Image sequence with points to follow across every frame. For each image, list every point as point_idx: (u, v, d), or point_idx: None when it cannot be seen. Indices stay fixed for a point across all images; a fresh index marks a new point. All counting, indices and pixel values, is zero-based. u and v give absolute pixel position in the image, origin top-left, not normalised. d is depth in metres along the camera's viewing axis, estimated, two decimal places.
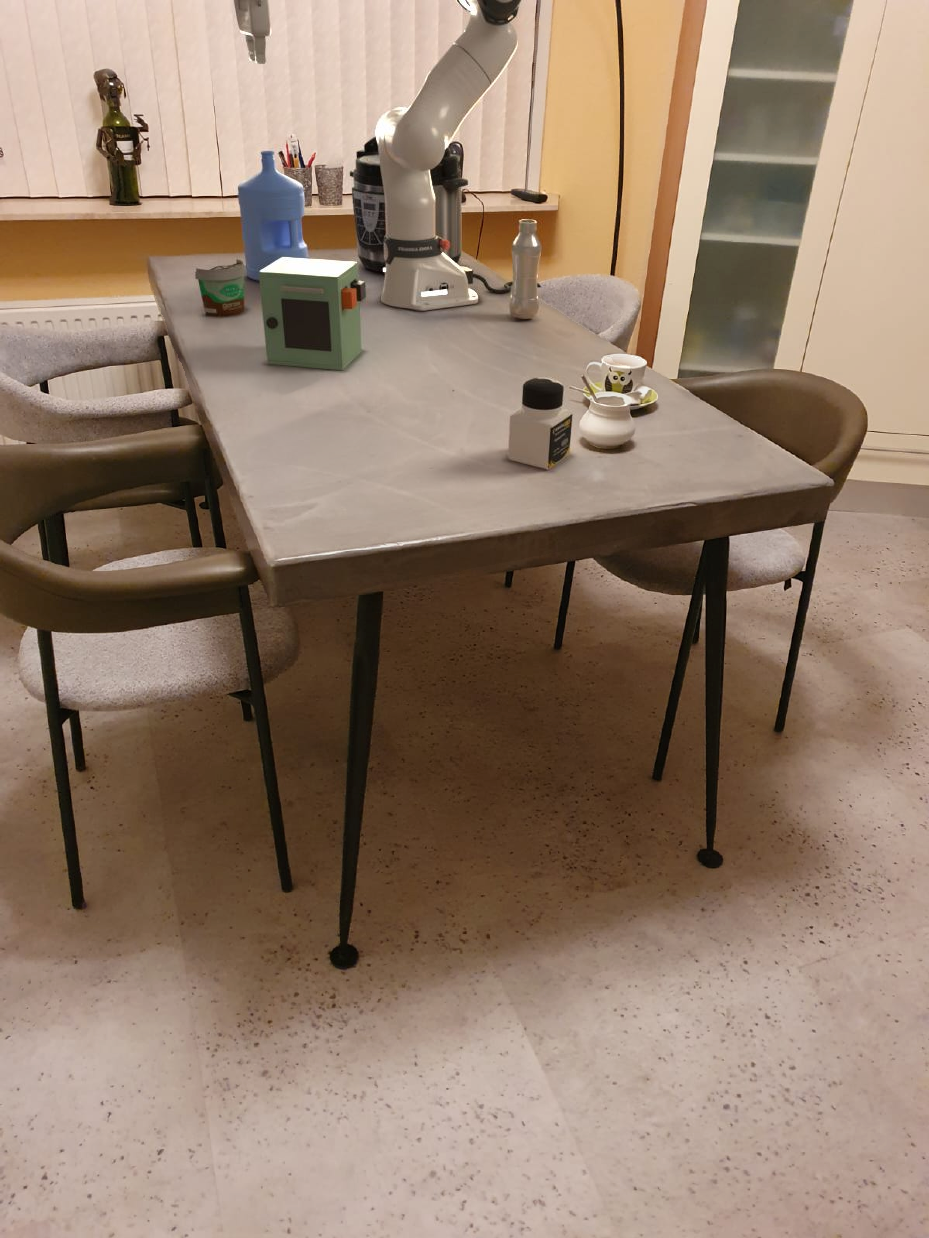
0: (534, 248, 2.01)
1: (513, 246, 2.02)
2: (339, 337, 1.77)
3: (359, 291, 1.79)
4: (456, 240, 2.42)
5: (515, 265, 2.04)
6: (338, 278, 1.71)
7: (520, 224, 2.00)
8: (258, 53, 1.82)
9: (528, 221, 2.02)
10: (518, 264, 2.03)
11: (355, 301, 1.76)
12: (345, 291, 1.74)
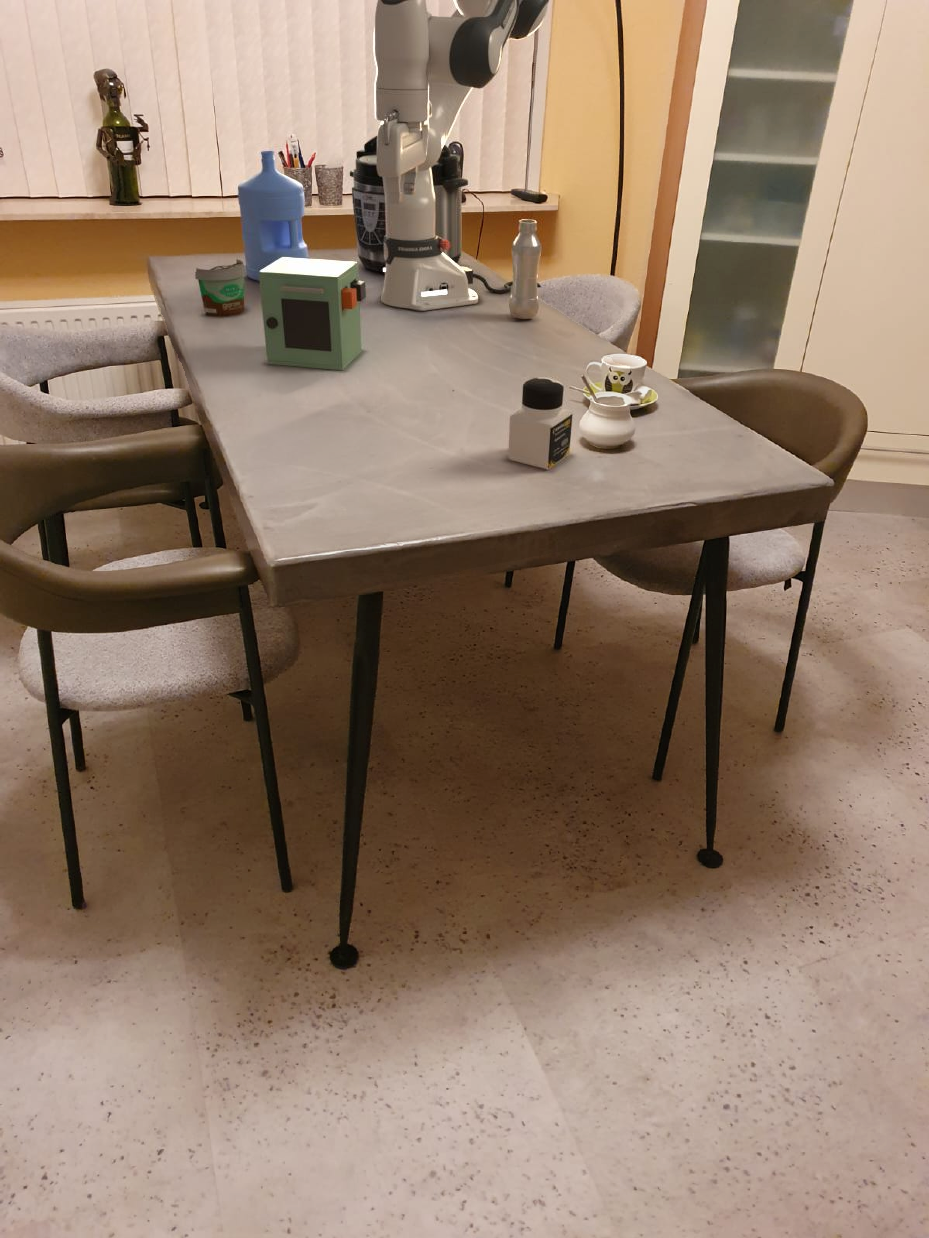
0: (534, 248, 2.01)
1: (513, 246, 2.02)
2: (339, 337, 1.77)
3: (359, 291, 1.79)
4: (456, 240, 2.42)
5: (515, 265, 2.04)
6: (338, 278, 1.71)
7: (520, 224, 2.00)
8: (392, 192, 1.60)
9: (528, 221, 2.02)
10: (519, 264, 2.03)
11: (355, 301, 1.76)
12: (345, 291, 1.74)
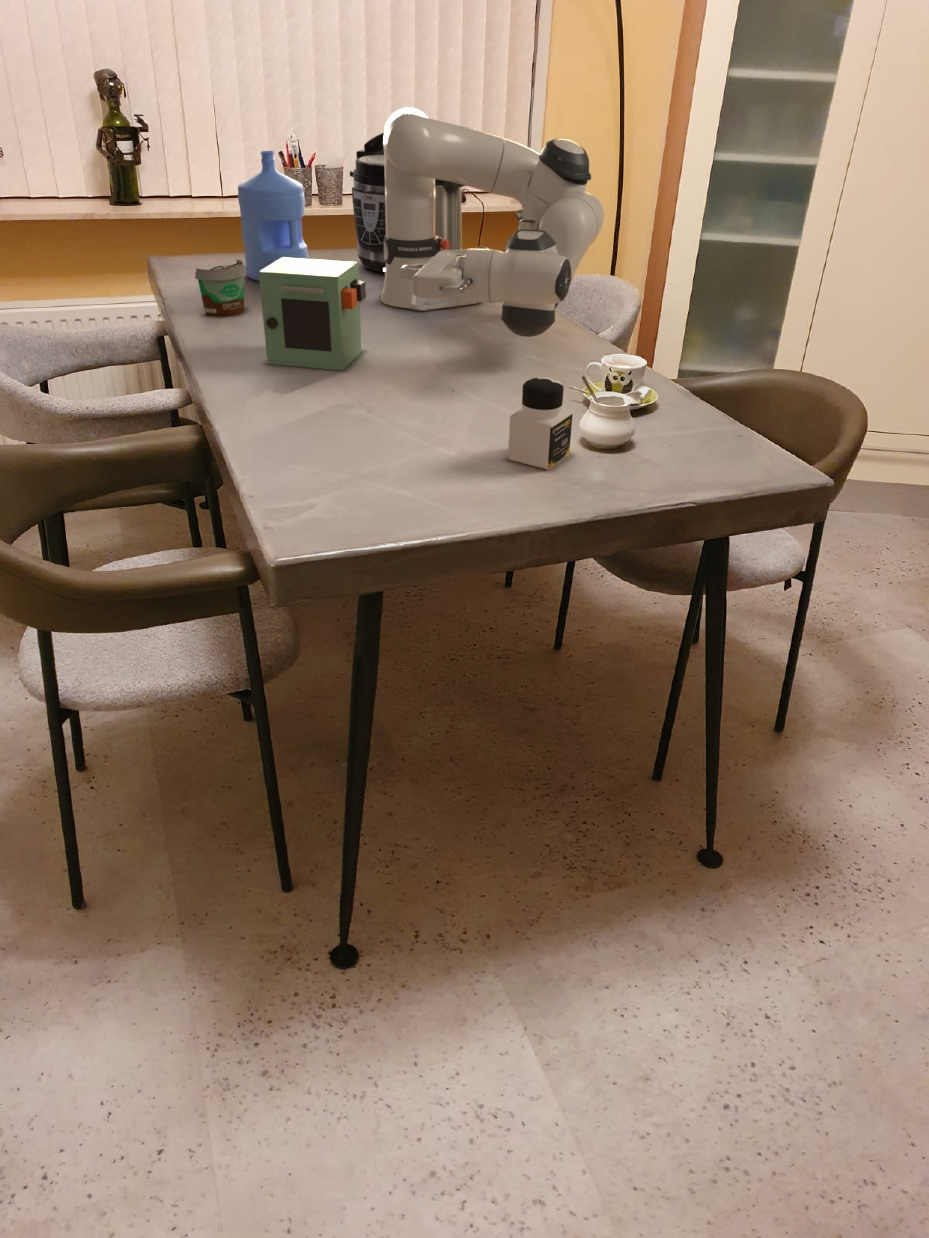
0: None
1: None
2: (339, 337, 1.77)
3: (359, 291, 1.79)
4: (456, 240, 2.42)
5: None
6: (338, 278, 1.71)
7: (520, 224, 2.00)
8: (408, 272, 1.69)
9: (528, 221, 2.02)
10: None
11: (355, 301, 1.76)
12: (345, 291, 1.74)
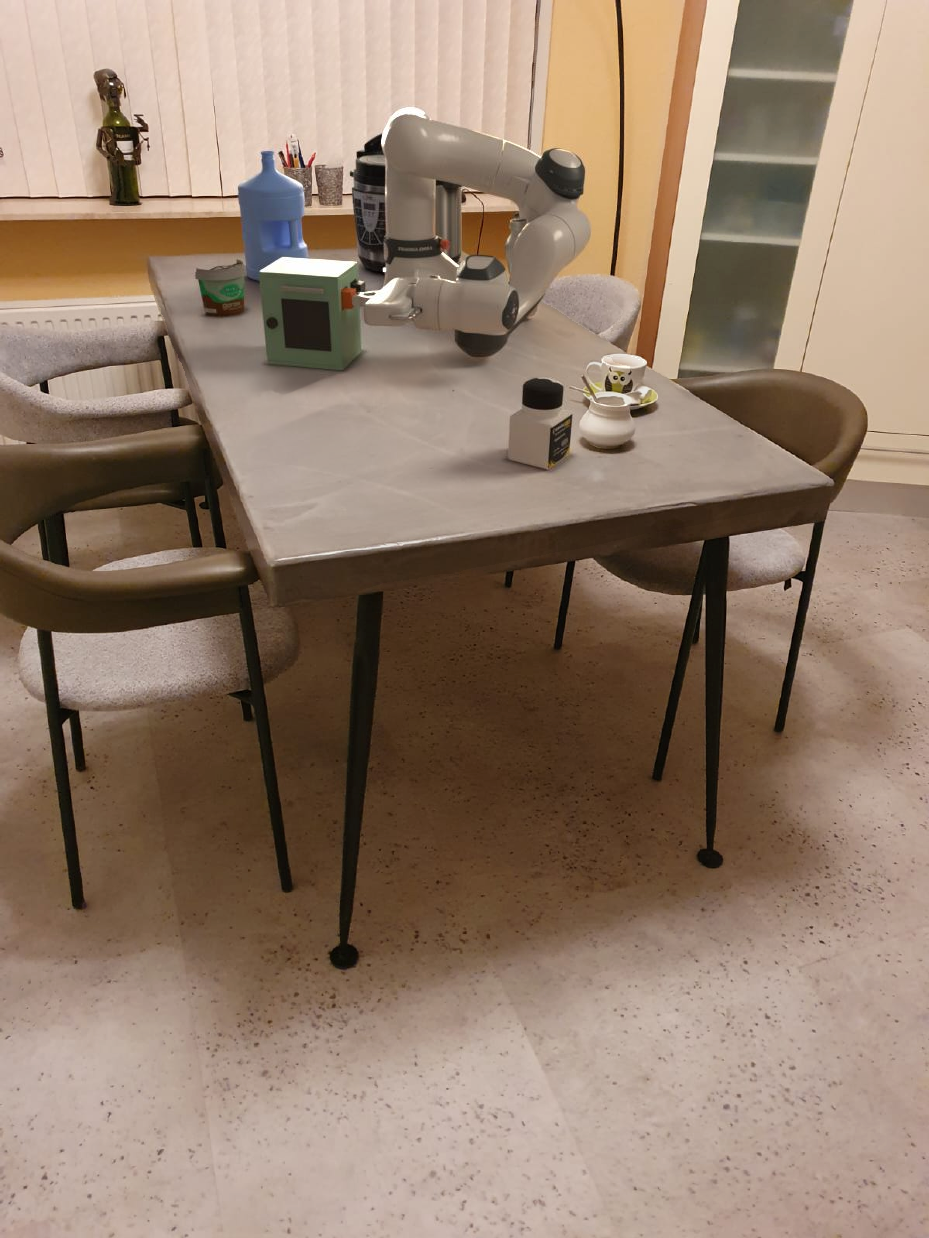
0: None
1: (506, 246, 2.02)
2: (339, 337, 1.77)
3: (359, 291, 1.79)
4: (456, 240, 2.42)
5: (510, 265, 2.04)
6: (338, 278, 1.71)
7: (511, 224, 2.00)
8: (360, 299, 1.74)
9: (519, 220, 2.02)
10: None
11: None
12: (345, 291, 1.74)
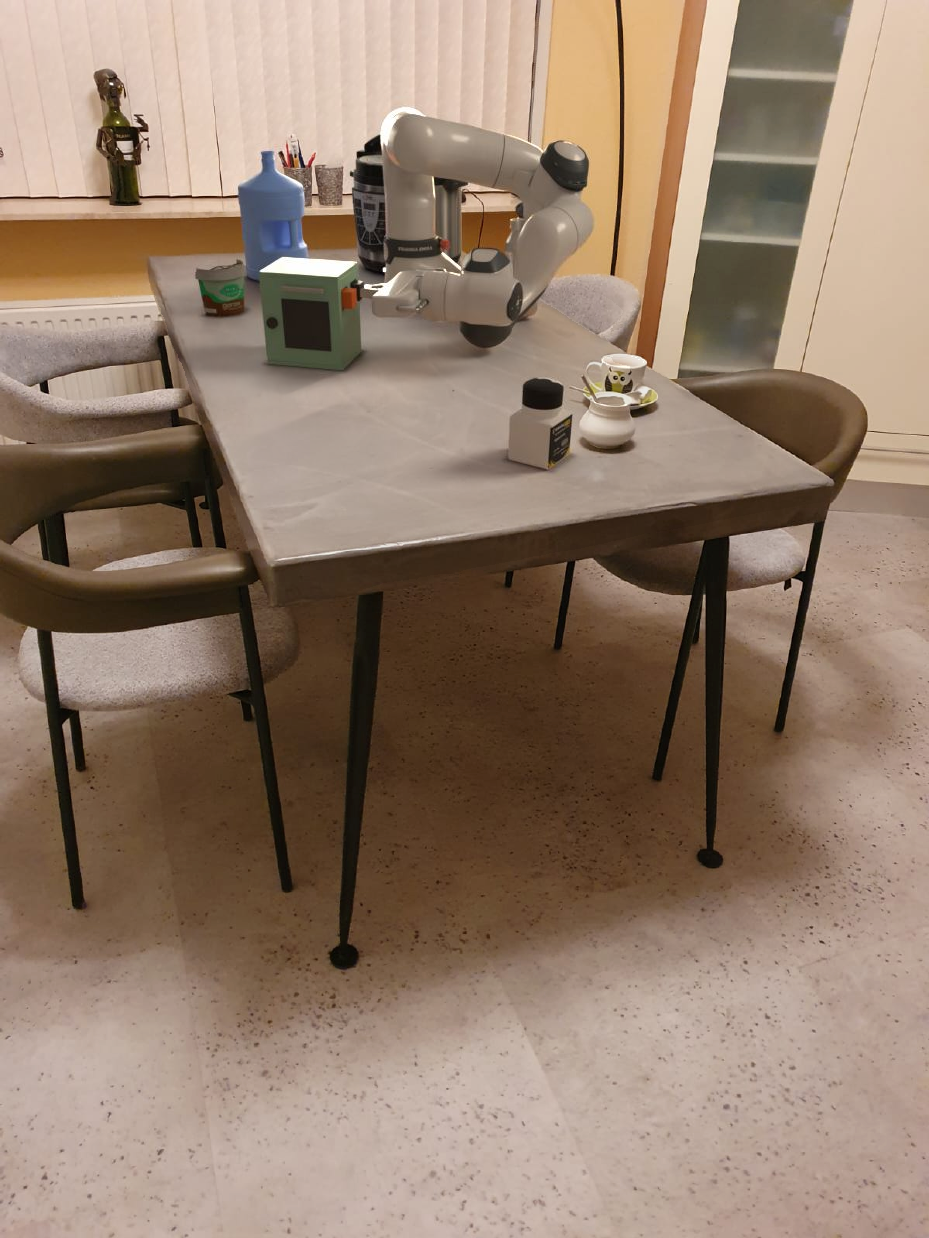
0: None
1: (506, 245, 2.03)
2: (339, 337, 1.77)
3: (358, 291, 1.79)
4: (456, 240, 2.42)
5: (510, 263, 2.05)
6: (338, 278, 1.71)
7: (511, 222, 2.01)
8: (368, 291, 1.78)
9: (519, 219, 2.03)
10: (513, 262, 2.03)
11: (355, 301, 1.76)
12: (345, 291, 1.74)
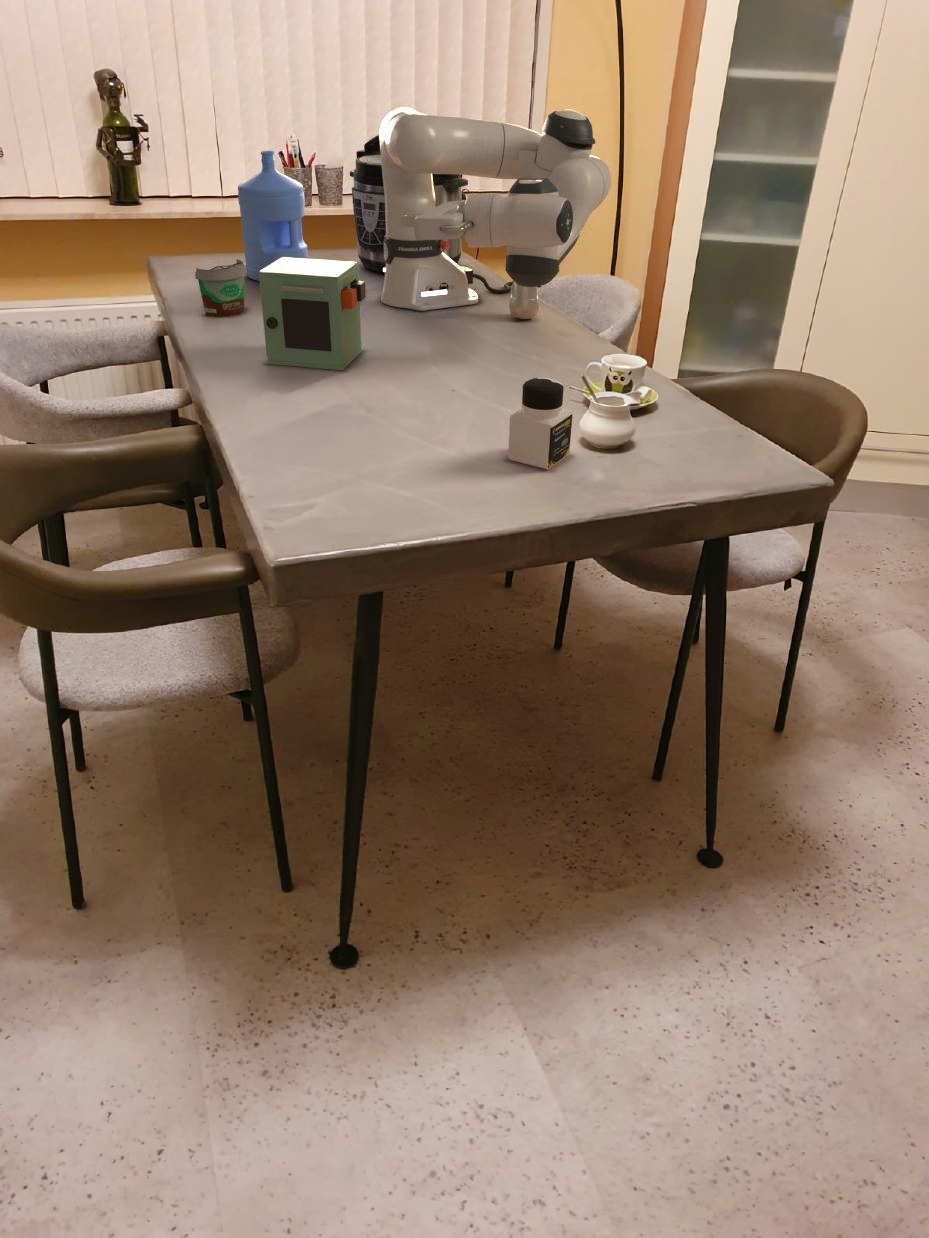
0: None
1: None
2: (339, 337, 1.77)
3: (359, 291, 1.79)
4: (456, 240, 2.42)
5: None
6: (338, 278, 1.71)
7: None
8: (410, 219, 1.70)
9: None
10: None
11: (355, 301, 1.76)
12: (345, 291, 1.74)
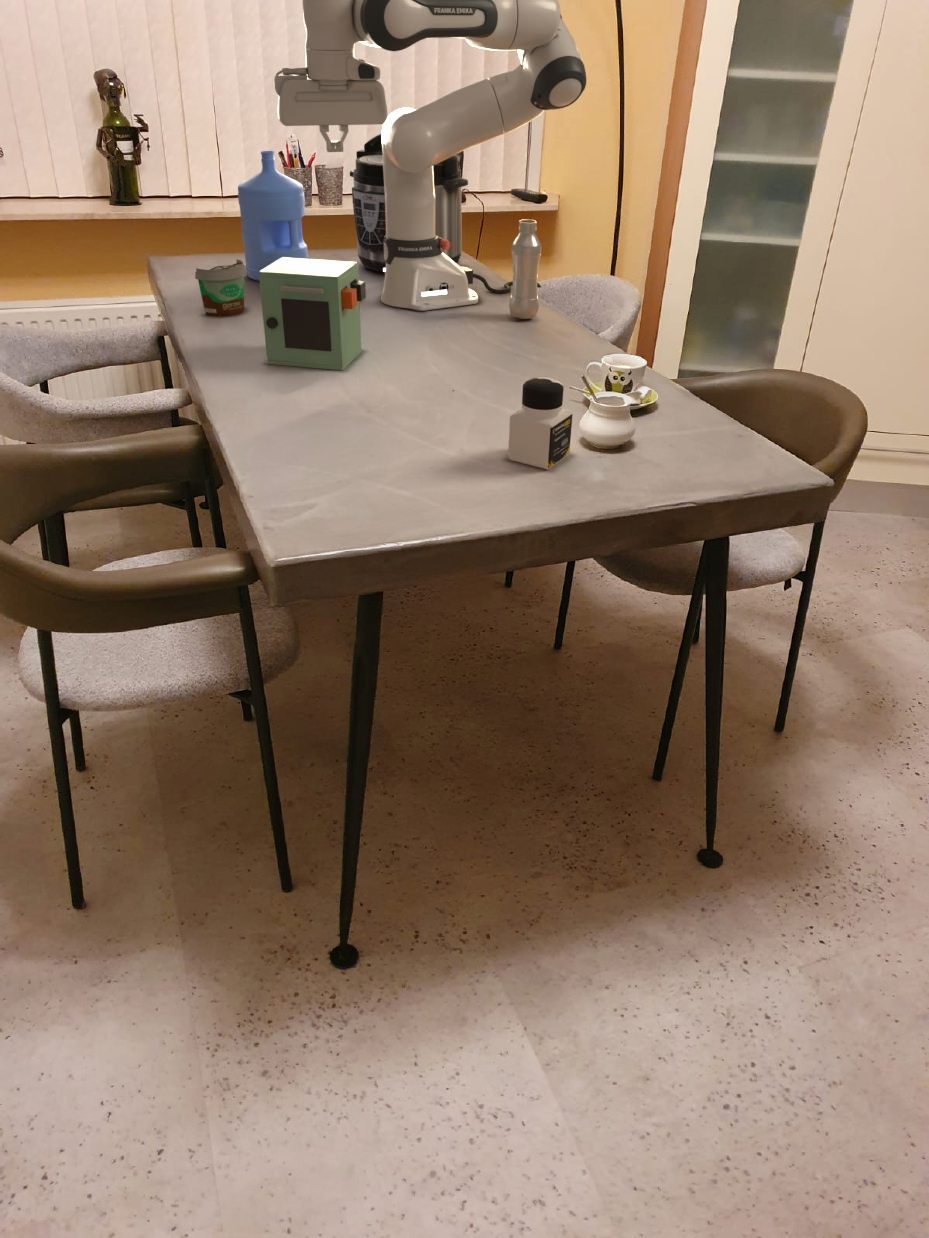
0: (534, 248, 2.01)
1: (513, 246, 2.02)
2: (339, 337, 1.77)
3: (359, 291, 1.79)
4: (456, 240, 2.42)
5: (515, 265, 2.04)
6: (338, 278, 1.71)
7: (520, 224, 2.00)
8: (326, 141, 1.81)
9: (528, 221, 2.02)
10: (519, 264, 2.03)
11: (355, 301, 1.76)
12: (345, 291, 1.74)
